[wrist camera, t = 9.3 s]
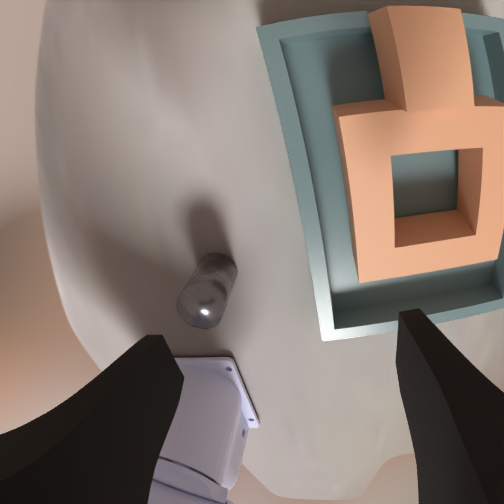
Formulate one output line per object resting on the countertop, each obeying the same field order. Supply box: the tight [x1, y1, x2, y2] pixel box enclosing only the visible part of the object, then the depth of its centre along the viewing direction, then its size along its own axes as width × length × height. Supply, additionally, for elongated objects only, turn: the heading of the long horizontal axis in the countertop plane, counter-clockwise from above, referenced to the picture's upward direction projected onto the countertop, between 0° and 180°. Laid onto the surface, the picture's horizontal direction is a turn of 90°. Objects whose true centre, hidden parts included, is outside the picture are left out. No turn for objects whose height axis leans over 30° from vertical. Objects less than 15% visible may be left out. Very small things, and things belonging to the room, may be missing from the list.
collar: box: [331, 6, 504, 283], centre depth 11 cm, size 12×8×3 cm, turn 14°
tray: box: [256, 10, 504, 341], centre depth 14 cm, size 17×13×2 cm
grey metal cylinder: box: [177, 254, 237, 329], centre depth 18 cm, size 2×2×4 cm
